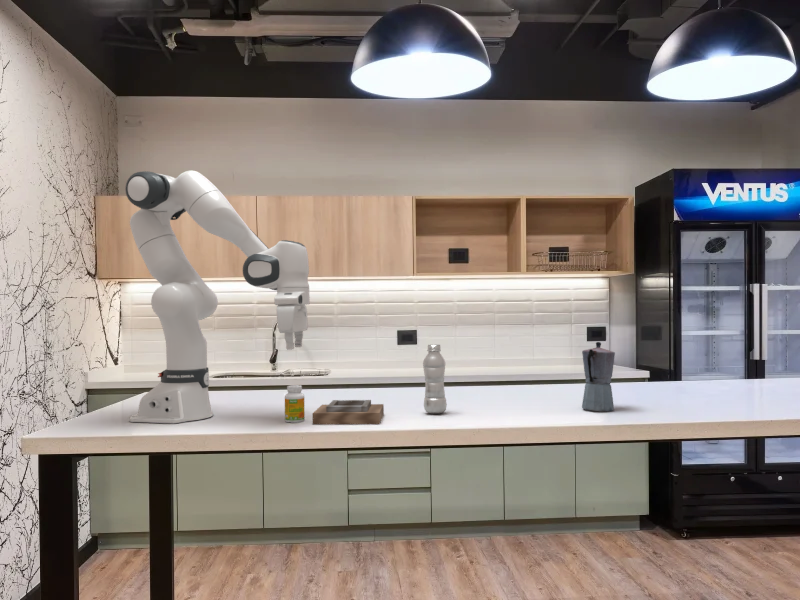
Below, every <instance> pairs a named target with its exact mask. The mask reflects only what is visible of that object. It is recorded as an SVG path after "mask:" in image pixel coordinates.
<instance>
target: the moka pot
mask: <svg viewBox="0 0 800 600" xmlns="http://www.w3.org/2000/svg"><path fill="white" fill-rule="evenodd" d="M601 345H602V343H601V342H600V341H597V342H595V347H592V348H588V349H584V350H582V353H581V354H582V363H583V372H584V377H585V384H584V390H583V391H584V392H583V397H582V403H581V408H582V409H583V410H587V411H593V412H612V411H614V410H615V406H614V405H615V404H614V398H613V390H612V389H613V388H612V385H611V383H612V377H613V371H614V365H615V357H616V356H615V355H616V352H614V351H612V350H608V349H606V348H602V347H601Z"/></svg>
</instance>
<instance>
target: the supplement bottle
mask: <svg viewBox="0 0 800 600" xmlns="http://www.w3.org/2000/svg"><path fill="white" fill-rule="evenodd" d="M286 391H287V393H286V394H285V395H284V421H285V422H286V423H289V422H291V423H292V424H296V422H297V423H302V422H304V421H305V415H306V414H305V394H304V393H302V391H303V385H300V384H291V385H287V386H286Z"/></svg>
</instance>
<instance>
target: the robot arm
mask: <svg viewBox="0 0 800 600" xmlns="http://www.w3.org/2000/svg"><path fill="white" fill-rule="evenodd" d="M124 188H125V189H124V190H125V196H126V197H127V199H128V200H129V202H130V203H131V204H132V205H134V206H136V207H137V208H140V209H139V210H137V211H135V212H134V213H133V214H132V215H131V217H130V218H129V219H130V220H129V226H130V230H131V234H132V237H133V240H134V243H135V245H136V248H137V250H138V252H139V254H140V256H141V258H142V260H143V262H144V264H145V266H146V268H147V271H148V272H149V274H150V275H151V277H152V278H154V279H155V280H156V281H157V282H158V283H159V284H160V285H161V286H159V287H157V288H156V289H155V291H153V293H152V295H151V299H150V301H151V302H150V304H151V308H152V310H153V312H154V313H155V315H156V316H157V318H158V319H159V321H160V325H161V327H162V331H163V334H164V335H163V336H164V339H165V346H166V349H165V350H166V353H165V354H166V368H165V370H163V371H161V372H158V373H157V378H160V382H159V383H158V384H157V385H155V387H153V388H152V389H150V390H149V391H148V392H147V393H146V394H144V395H142V397H141V399H140V401H139V404H138V409H137V410H138V411H137V413H135V414H133V415H131V416H130V417H129V422H131V423H133V422H134V423H156V424H157V423H158V424H159V423H160V424H178V423H184V422H190V421H197V420H198V421H199V420H204V419H208V418H210V417H213V416H214V413H213V409H212V405H211V401H210V395H209V385H210V384H209V383H210V372H209V367H208V349H207V348H208V345H207V344H208V342H207V339H206V338H205V336H204V334H203V332H202V330H201V325H200V321H202V320H205V319H207V318H209V317H210V316H212V315H213V314H214V313H215V312H216V310H217V307H218V305H219V304H218V303H219V302H218V296H217V294H216V293H215V292H214V291H213V290H212V289H211V288H210V287H209V286H208V285H207V283H205V281H204V279H203V278H202V277H201V275H200V274H199V272H197V270H196V269H195V268H194V266H193V265H192V264H191V262H190V260H189V259H188V257H187V255H186V254H185V252H184V250H183V248H182V246H181V244H180V242H179V240H178V238H177V235H176V233H175V232H174V230H173V228H172V226H171V225H172V224H171V221H176V220H178V219H179V218H180V217H181V216H182V215H183V214H185V213H187V214H188V215H189V216H190V217H191V219H192V220H193V221H194V222H195V223H196V224H197V225H198V226H199V227H200V228H202V229H203V230H205V232H207V233H209V234H211V235H214V236H216V237H219V238H221V239H224V240H225V241H228V242H230V243H231V244H233V245H235V246H236V247H237V248H239V250H240V251H242V253H243V254H244V255H245V256H246V257H247V258H246V259H245V260H244V263H243V266H242V275H243V278H244V280H245V281H246V282H247V283H248V284H249V285H251V286H253V287H256V288H262V289H269V290H273V291H277V293H276V295H275V296H274V299H273V302H274V305H275V306H276V320H277V321H276V323H277V328H278V332H279V333H280V334H284V340H285V344H286V347H285V348H286V350H289V351H291V350H294V349H295V348H301V347H303V338H304V332H305V331H308V326H309V322H308V309H307V305H310V302H311V301H310V298H311V297H310V284H309V281H308V279H309V275H310V266H309V253H308V250H307V247H306V246H305V245H304V243H300V242H298V241H294V240H287V239H285V240H284V239H283V240H279V241H277V243H276V244H275V245H273V246H271V247H270V248H269V247H268V246H267V245H266V243H264V242H263V240H262V239H261V238H260V237H259V236H258V235H257V234H256V233H255V232H254V231H253V230H252V229H251V228H250V227H249V226H248V225H247V223H246V222H245V221H244V220H243V218H242V217H241V216H240V214H239V213H238V212H237V211H236V209H235V208H234V207H233V205H232V204H231V203H230V202H229V200H228V198H227V197H225V195H224V194H223V193H222V192H221V190H219V188H217V186H215V184H214V183H212V182H211V181H210V179H208V178H207V177H206V176H204V174H203V173H200V172H199V171H196V170H191V169H189V170H186V171H183V172H182V173H180V174H179V175H178V176H177V177H174V176H170V175H167V174H165V173H163V174H162V173H156V172H153V171H145V170H144V171H137V172H135V173H132V174H131V175H130V176H129V178H128V179H127V180H126V182H125V187H124ZM294 335H295V339H294Z"/></svg>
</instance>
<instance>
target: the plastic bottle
mask: <svg viewBox="0 0 800 600" xmlns="http://www.w3.org/2000/svg"><path fill="white" fill-rule="evenodd" d="M426 351H427V352H428V353H427V354H426V356H425V357H424V359H423V362H422V366H423V374H424V382H425V383H424V384H425V386H424V389H425V391H424V399H423V408H424V411H425V413H428V414H432V415H438V414H443V413H445V412H446V411H447V405H448V404H447V398H446V393H445V391H446V390H445V371H446V361H445V359H444V357H443V356H442V354H441V344H428V345H427V350H426Z"/></svg>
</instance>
